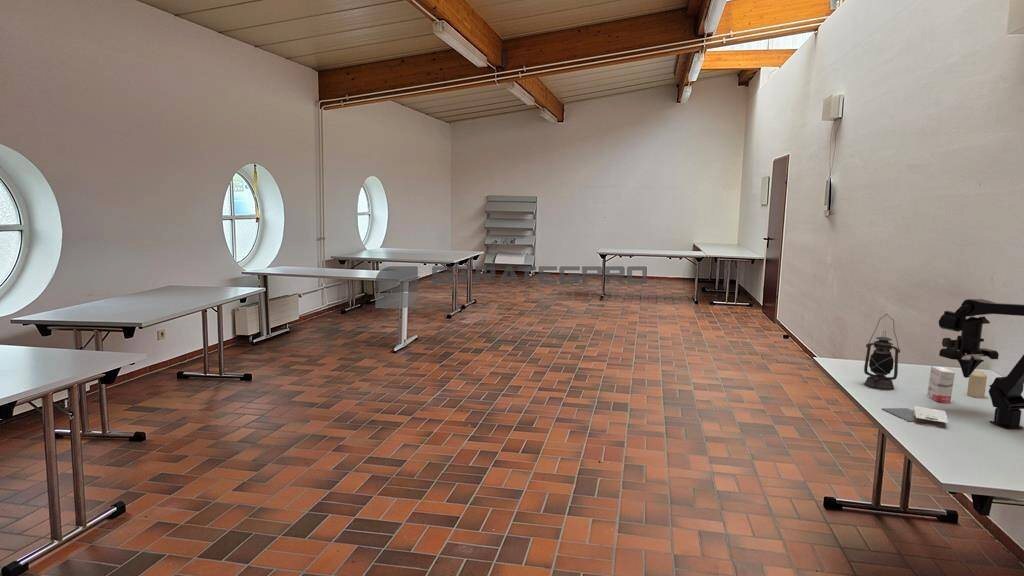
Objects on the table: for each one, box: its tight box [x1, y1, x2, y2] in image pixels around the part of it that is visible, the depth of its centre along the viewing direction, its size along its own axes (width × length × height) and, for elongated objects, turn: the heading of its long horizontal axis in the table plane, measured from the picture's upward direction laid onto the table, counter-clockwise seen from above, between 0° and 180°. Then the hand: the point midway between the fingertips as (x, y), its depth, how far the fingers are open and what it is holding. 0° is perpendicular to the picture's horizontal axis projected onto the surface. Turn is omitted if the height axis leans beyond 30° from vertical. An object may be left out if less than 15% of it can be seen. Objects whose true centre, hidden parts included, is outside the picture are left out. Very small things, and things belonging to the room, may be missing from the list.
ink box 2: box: [913, 405, 949, 424], centre depth 210 cm, size 3×9×12 cm
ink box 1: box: [926, 366, 955, 404], centre depth 236 cm, size 9×5×12 cm, turn 168°
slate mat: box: [881, 407, 937, 423], centre depth 216 cm, size 13×10×1 cm
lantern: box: [863, 313, 901, 391], centre depth 250 cm, size 12×11×30 cm
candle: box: [966, 370, 988, 399], centre depth 242 cm, size 6×6×10 cm
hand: (965, 377), depth 221 cm, fingers closed
